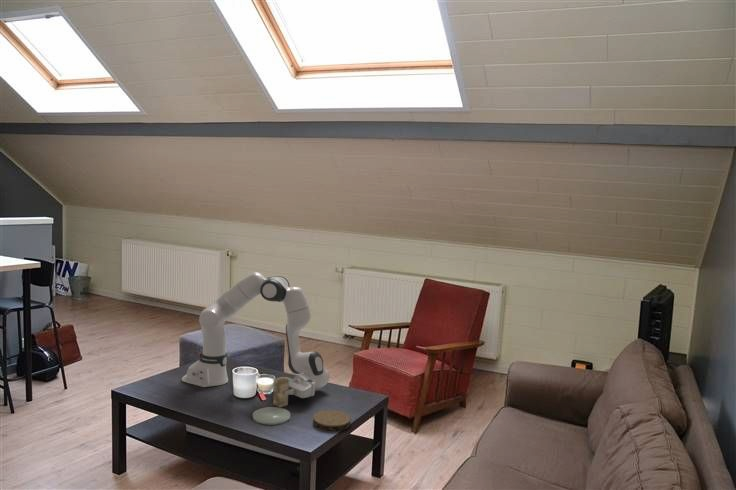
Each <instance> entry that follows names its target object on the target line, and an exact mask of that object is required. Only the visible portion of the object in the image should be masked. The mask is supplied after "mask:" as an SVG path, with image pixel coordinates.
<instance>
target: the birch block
mask: <svg viewBox="0 0 736 490" xmlns="http://www.w3.org/2000/svg"><path fill="white" fill-rule="evenodd" d="M284 377H285V376H280V377H277V378H274V379H273V384H274V386H273V403H272V404H273V406H274V407H278V408H283V407H286V406H288V404H289V395H284V394H283V391H285V390H288V386H289V379H287V378H284Z"/></svg>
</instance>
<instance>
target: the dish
mask: <svg viewBox="0 0 736 490" xmlns="http://www.w3.org/2000/svg"><path fill="white" fill-rule="evenodd" d="M252 419H253V421H254V422H255V423H258V424H260V425H264V426H266V425H267V426H277V425H281V424H284V423H287V422H289V420H290V419H291V413H290V411H289V410H287V409H286V408H283V407H278V406H268V407H267V406H266V407H261V408H258V409H256V410H254V412H253V413H252Z"/></svg>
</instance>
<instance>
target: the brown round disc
mask: <svg viewBox="0 0 736 490" xmlns="http://www.w3.org/2000/svg"><path fill="white" fill-rule="evenodd" d="M351 420H352V419H351V416H350V414H349V413H346V412H345V411H341V410H334V409H333V410H332V409H327V410H320V411H318V412H316V413H315V414H314V415H313V419H312V424H313V427H315V428H316V429H318V430H321V431H323V432H329V433H330V432H333V433H334V432H343V431H345V430H347V429H349V428H350V426H351Z"/></svg>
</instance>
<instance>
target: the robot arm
mask: <svg viewBox="0 0 736 490" xmlns="http://www.w3.org/2000/svg"><path fill="white" fill-rule="evenodd" d="M290 285H291V284H290V282H289V280H288V279H287V278H286V277H284V276H281V275H276V276H268V277H267V278H266V277H265V276H264V275H263V274H262V273H260V272H259V271H258V272H257V271H254V272H251V273H249V274H247V275H246V276H244V277H243V278H241V279H240V280H239V281H237V282H236V283H235V284H234V285H232V286H231V287H230V288H229V289H227V290H226V291H225V292H224V293H223V294H222V295H220V296H219V297H218V298H217V299H216V300H215V301H213V302H212V303H211V304H209V305H208V306H207V307H205V308H204V309H203V310H202V311H201V312H200V315H199V318H198V322H199V325H200V328H201V333H202V352H201V353H199V354H198V355H197V358H199V359H198V360H196V361H195V362H194V363H192V364H191V365H190V366H189V367H188V369H187V371H186V374H185V375H184V376H182V377H181V382H183V383H187V384H190V385H194V386H199V387H202V388H206V387H207V388H208V387H215V386H222V385H225V384H226V383H228V382H229V378H228V377H229V376H228V373H227V360H228V358H227V357H228V356H227V355H228V354H227V337H226V334H225V323H226V322H227V320H229V319H230V318H231V317H232V316H234V315H236V313H238V312H239V311H240V310H241V309H242V308H244V307H245V306H247V304H249V303H250V302H251V301H253V299H255V298H256V297H258V296H259V295H260V296H261V297H262V298H263V299H264V300H265V301H269V302H278V303H281V302H282V303H283V305H284V308H285V312H286V317H287V323H286V325H285V335H286V336H285V337H286V344H287V352H288V360H287V364H288V369H289V370H290V372H292V373H293V374H295V376H294V377H293V378H290V377H287V376H283V377H284V378H287V379H289V386H288V390H285V391H283V394H284V395H288V396H289V395H290V396H292V395H293V396H295V397H299V398H300V399H305V398H306V399H307V398H310V397H313V396H315V392H316V390H318V389H321V388H323V387H324V386H325V385H327V384H328V383H329V381H330V373H329V371H328V369H326V367H325V366H324V360H323V357H322V355H321V354H320V353H319V352H317V351H306V352H302V350H301V346H300V338H299V337H300V336H299V334H300V332H301V331H302V330H303V329H304V328H305V327H306V326H308V325H309V323H310V321H311V317H312V316H311V315H312V314H311V310H310V307H309V302H308V300H307V297H306V296H307V295H306V294H305V293H304V290H303V288H302V287H300V286H290ZM273 387H274V383H273Z"/></svg>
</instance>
